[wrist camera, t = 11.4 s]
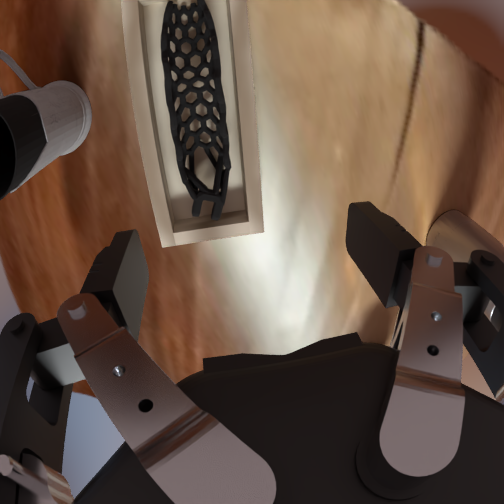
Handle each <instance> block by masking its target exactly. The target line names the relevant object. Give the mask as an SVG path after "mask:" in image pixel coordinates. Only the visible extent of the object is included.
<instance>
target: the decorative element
mask: <svg viewBox="0 0 504 504" xmlns="http://www.w3.org/2000/svg"><path fill="white" fill-rule="evenodd" d="M177 5H178V4H173V1H168V3H167V5H166V8H165V12H164V17H163V24H162V32H161V60H162V64H163V71H164V87H165V96H166V104H167V107H168V111H169V116H170V129H171V135H172V139H173V142H174V145H175V151H176V160H177V165H178V169H179V173H180V176H181V179H182V183H183V184H184V185H185V186H186V188H187V190H188V192H189V195H190V197H191V198H192V199H193V200H194V201H193V205H192V216H194V217H199V215H200V211H201V207H202V202H203V201H204V200H206V201H211V202H214V204H213V208H212V213H211V219H212V220H216V221H218V220H219V219H220V217H221V213H222V209H223V206H224V204H225V200H226V194H227V189H228V180H229V171H230V169H231V168H232V167H231V161H230V156H229V146H230V145H229V134H228V129H227V123H226V103H225V98H224V93H223V88H222V83H221V62H220V54H219V48H218V39H217V34H216V30H215V25H214V21H213V18H212V15H211V13H210V11H209V8H208V6H207V4H206V2H205V0H197V5H196V3H191V4H190V5H191V7H190V9H189V10H188V9H187V6H186V5H182V6H181V9H180V10H179V9H178V7H177ZM195 11H196V12H197V14H198V21H197V23H196V22H195V21H194V20H193V14H194V12H195ZM173 13H174V15H175V23H173V20H172V17H173ZM183 14H185V15H186V16H187V20H188V23H187V24H186V25H184V24H183V23H182V22H181V16H182V15H183ZM203 22H204V24H205V27H206V29H205V33H203V32H202V24H203ZM168 27H169V33H168ZM191 27H193V28H195V29H196V36H195V37H194V38H193V39H192V38H190V37H189V36H188V30H189V29H190V28H191ZM177 28H179V29H180V30H181V31H182V38H181V39H180V40H178V38H177V37H176V36H175V32H176V29H177ZM210 38H211V41H210ZM200 39H204V43H205V46H204V48H203V49H202V51H201V50H198V48H197V43H198V41H199V40H200ZM170 41H172V42H173V43H174V44H175V52H174V53H173V52H172V50H171V48H170ZM185 42H187V43H189V44H190V45H191V51H190V52H189V53H188V54H185V53H184V52H182V50H181V45H182V44H183V43H185ZM209 50H210V51H211V59H210V62H207V57H206V55H207V53H208V51H209ZM194 55H197V56H200V59H201V63H200V64H199V65H198V66H197V67H194V66H192V65H191V61H190V59H191V58H192V57H193V56H194ZM168 57H169V61H168ZM177 57H180V58H182V59H184V67H182V68H181V69H180V68H179V67H178V66H177V65H176V61H175V58H177ZM204 68H208V71H209V74H208V75H207V76H206V77H204V76H201V75H200V73H201V71H202V70H203V69H204ZM171 71H173V72H174V73H175V74H176V75H177V79H176V80H175V81H174V80H173V79H172V72H171ZM187 71H190V72H192V73H194V76H193V77H192V78H190V79H187V78H184V75H183V74H184V73H186V72H187ZM212 79H213V80H214V86H215V89H214V88H213V87H212V86H211V85H210V80H212ZM197 81H200V82H203V83H204V85H203V86H201V87H195V86H193V83H195V82H197ZM181 83H182V84H185V85H186V88H185V89H184V90H183V91H182V92H179V91H178V86H179V85H180V84H181ZM205 91H208V92H209V93H210V94H212V97H213V101H212V102H209V101H207V100H206V99H205V98H203V92H205ZM190 92H194V93H196V94H197V99H196V100H194V101H193V102H192V103H190V102H187V101H186V95H188V94H189V93H190ZM177 97H178V98H179V99H180V104H179V106H178V108H177V110H176V111H175V102H176V99H177ZM200 103H201V104H202V105H204V106H205V107H206V108H207V114H206V115H204V116H201V115H199V114H197V113H196V107H197V106H198V105H199V104H200ZM185 107H186V108H188V109H190V116H189V117H188V118H187V119H186V121H182V117H181V115H182V113H183V110H184V108H185ZM213 107H215V108H216V110H217V111H218V113H219V118H220V120H219V119H218V118H217V117H216V116H215V115H214V112H213ZM194 119H196V120H198V121H200V125H201V127H200V128H199V129H198V130H196V131H192V130H190V124H191V123H192V122H193V120H194ZM209 119H211V120H212V122H213V123H214V124H215V125H216V131H213V130H211V129H210V128H209V127H207V122H206V121H207V120H209ZM182 127H184V131H185V133H184V135H183V137H182V140H181V141H180V132H181V128H182ZM203 132H205V133H207V134H208V135H209V136H210V138H211V141H210V142H208V143H204V142H202V141H200V135H201V134H202V133H203ZM189 136H192V137H194V143H193V145H192V146H191V148H190V149H187V148H186V143H187V141H188V139H189ZM217 136H218V137H219V139H220V141H221V143H222V147H221V146H220V145H219V144H218V142H217V138H216V137H217ZM198 146H200V147H202V148H204V151H205V153H206V155H207V156H208V158H209V159H210V161H211V163H212V164H213V166H214V168H215V169H216V172H215V178H214V185H213V190H212V189H208V187H207V186H206V185H205V184H204V183H203V182H202V181H201V180H200V179H198V178H197V176H196V174H194V151H195V150H196V149H197V147H198ZM211 147H214V148H215V149H216V151H217V152H218V159H217V161H216V159H215V158H214V156H213V154H212V153H211V151H210V148H211ZM222 148H223V149H222ZM187 155H189V169H188V168H186V166H185V163H186V157H187ZM224 167H225V170H224ZM187 178H188V179H187ZM198 189H199V190H198ZM219 189H221V190H220V192H219Z"/></svg>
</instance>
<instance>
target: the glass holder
mask: <svg viewBox="0 0 504 504" xmlns="http://www.w3.org/2000/svg"><path fill="white" fill-rule="evenodd" d="M0 59H2V60H3V61H4V62H5V63H6V64H8V65H9V67H10V68H11V69H12V70H13V71H14V72H15V73H16V74H17V75H18V77H19V78H20V79H21V80H22V81H23V83H24V84H25V85H26V86H27V87H28V88H29V89H30V90H27V91H23V92H18V93H14V94H10V95H7V96H3V93H2V90H1V88H0V200H1V199H2V198H4V197H5V196H6V195H7V194H8V193H9V192H10V193H12V192H14V191H15V190H16V189H18V188H19V187H20V186H21V185H22V184H24V183H25V182H26V181H27V180H28V179H30V178H31V177H32V176H33V175H35V174H36V173H37V172H39V171H40V170H41V169H42V168H44V167H45V166H46V165H48V164H49V163H50V162H52V161H53V160H54V159H56V158H57V157H59V156H61V155H65V154H68V153H70V152H72V151H74V150H75V149H76V148H77V147H79V146H80V145H81V143H82V142H83V141H84V140H85V138H86V136H87V134H88V132H89V129H90V125H91V120H92V111H91V105H90V101H89V99H88V97H87V95H86V94H85V92H84V91H83V90H82V89H81V88H80V87H79V86H77V85H76V84H74V83H72V82H69V81H55V82H52V83H49V84H47V85H45V86H44V87H42V88H41V87H37V86H36V85H35V84H34V83H33V82H32V81H31V80H30V79H29V78H28V76H27V75H26V74H25V73H24V71H23V70H22V69H21V68H20V67H19V66H18V64H17V63H16V62H15V61H14V60H13V59H12V58H11V57H10V56H9V55H8V54H7V53H5V52H4V51H2V50H0Z"/></svg>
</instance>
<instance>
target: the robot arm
mask: <svg viewBox="0 0 504 504" xmlns="http://www.w3.org/2000/svg"><path fill="white" fill-rule="evenodd" d="M346 248H347V251H348V253H349V255H350V256H351V258H352V259H353V261H354V262H355V264H356V265H357V266H358V268H359V269H360V271H361V272H362V274H363V275H364V277H365V278H366V279H367V281H368V282H369V284H370V285H371V287H372V288H373V290H374V291H375V293H376V294H377V296H378V297H379V299H380V300H381V302H382V303H383V305H384V306H385V308H388V307H393V306H397V305H398V306H399V307H400V308H399V311H398V314H397V318H396V323H395V327H394V331H393V335H392V339H391V343H390V347H388V346H385V345H381V344H375V343H362V341H361V339H360V337H359V335H358V334H357V332H355V333H351V334H346V335H342V336H337V337H333V338H328V339H323V340H320V341H318V342H316V343H313V344H311V345H309V346H306V347H304V348H302V349H299V350H297V351H294V352H292V353H290V354H287V355H263V354H243V353H242V354H235V355H227V356H219V357H211V358H203V370H202V371H199V372H197V373H195V374H192V375H190V376H188V377H186V378H185V379H183V380H181V381H180V382H178V383H177V384H175V383H174V382H173V381H172V380H171V379H170V378H169V377H168V376H167V375H166V374H165V373H164V372H163V371H162V370H161V368H160V367H159V366H158V365H157V364H156V363H155V362H154V361H153V360H152V359H151V357H150V356H149V355H148V354H147V353H146V352H145V351H144V350H143V348H142V347H141V346H140V345H139V344H138V336H139V330H140V324H141V318H142V313H143V307H144V302H145V296H146V291H147V286H148V281H149V273H148V267H147V263H146V259H145V256H144V252H143V249H142V245H141V242H140V238H139V235H138V232H137V230H136V229H134V230H127V231H121V232H116V234H115V236H114V238H113V240H112V242H111V245H110V246H109V247H105V248H104V249H103V250H102V251H101V252H100V253H99V254H98V255H97V256H96V258H95V260H94V262H93V266H92V267H91V269H90V271H89V272H90V273H88V275H87V278H86V280H85V282H84V284H83V287H82V289H81V291H80V294H77V295H74V296H72V297H70V298H68V299H67V300H66V301H64V302H63V303H62V305H61V306H60V307H59V309H58V311H57V317H56V318H54V319H51V320H48V321H45V322H42V323H39V324H38V322H37V321H36V319H35V317H34V316H33V315H32V314H30V313H21V314H19V315H16V316H15V317H13V318H12V319H10V320H9V321H8V322H7V323H6V325H5V326H4V328H3V329H2V332H1V334H0V504H504V247H503V245H502V243H500V242H499V241H498V240H497V239H496V238H494V237H493V236H492V235H491V234H490V233H488V232H487V231H486V230H485V229H483V228H482V227H481V226H480V225H478V224H477V223H476V222H475V221H473V220H472V219H471V218H469V217H468V216H465V215H464V214H462V213H461V212H459V211H457V210H450V211H448V212H446V213H444V214H442V215H441V216H440V217H439V218H438V219H437V220H436V221H435V223H434V224H433V226H432V227H431V229H430V231H429V233H428V237H427V241H426V246H422V245H421V244H420V243H419V242H418V241H417V240H416V239H415V238H414V237H413V236H412V235H411V234H410V233H409V232H408V231H406V229H405V228H403V227H402V226H400V224H399V223H398V222H397V221H396V220H395V219H394V218H393V217H391V216H389V215H387V214H385V213H383V212H381V211H380V210H378V209H377V208H376V207H375V206H374V205H373V204H372V203H371V202H369V201H367V202H356V203H351V204H350V205H349V208H348V219H347V230H346ZM463 344H464V346H465V347H466V349H467V350H468V352H469V354H470V355H471V357H472V358H473V360H474V362H475V363H476V365H477V367H478V368H479V370H480V372H481V373H482V375H483V377H484V379H485V381H486V382H487V384H488V386H489V387H490V389H491V391H492V393H493V395H494V397H495V399H496V400H494V399H492V398H490V397H488V396H486V395H484V394H481V393H480V392H478V391H476V390H474V389H472V388H470V387H468V386H466V385H464V384H462V383H461V372H462V353H463ZM29 377H31V378H32V379H33V380H34V384H33V388H32V391H31V395H30V399H29V402H28V400H27V396H26V389H27V385H28V381H29ZM83 379H86V380H87V382H88V384H89V385H90V387H91V389H92V390H93V392H94V394H95V395H96V397H97V399H98V400H99V402H100V403H101V405H102V407H103V408H104V410H105V411H106V413H107V414H108V416H109V418H110V419H111V421H112V422H113V424H114V425H115V426H116V428H117V429H118V431H119V432H120V433H121V435H122V437H123V438H124V439H125V442H124V443H123V444H122V445H121V446H120V448H119V449H118V450H117V451H116V452H115V453H114V455H113V456H112V457H111V458H110V459H109V460H108V461H107V463H106V464H105V465H104V466H103V467H102V468H101V469H100V471H99V472H98V473H97V474H96V475H95V476H94V477H93V478H92V480H91V481H90V482H89V483H88V484H87V485H86V486H85V487H84V489H83V490H82V491H81V492H80V493H79V494H78V495H77V496H76V498H75V499H74V498H73V496H72V495H71V490H70V486H69V484H68V482H67V480H66V479H65V478H64V476H63V475H62V463H63V451H64V441H65V433H66V426H67V418H68V411H69V404H70V399H71V393H72V388H73V383H74V382H77V381H80V380H83Z"/></svg>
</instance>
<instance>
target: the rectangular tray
mask: <svg viewBox="0 0 504 504" xmlns="http://www.w3.org/2000/svg"><path fill="white" fill-rule="evenodd" d="M168 1H173V4H178V5H177V7H178V9H179V10H180V9H181V6H182V5H186V6H187V9H188V10H189V9H190V7H191V5H190V4H191V3H196V5H197V0H121V7H122V20H123V32H124V42H125V51H126V60H127V68H128V76H129V83H130V90H131V97H132V104H133V110H134V116H135V122H136V128H137V134H138V139H139V145H140V150H141V155H142V160H143V165H144V170H145V175H146V180H147V185H148V189H149V194H150V198H151V203H152V207H153V211H154V216H155V220H156V224H157V228H158V232H159V236H160V240H161V244H162V248H163V247H169V246H176V245H182V244H189V243H195V242H202V241H208V240H215V239H222V238H228V237H235V236H242V235H249V234H256V233H263V232H264V224H263V208H262V193H261V178H260V163H259V149H258V135H257V122H256V108H255V95H254V82H253V70H252V57H251V45H250V33H249V22H248V10H247V0H205V2H206V4H207V6H208V8H209V11H210V13H211V15H212V18H213V21H214V25H215V30H216V34H217V39H218V48H219V54H220V62H221V83H222V88H223V93H224V98H225V103H226V123H227V129H228V134H229V145H230V146H229V156H230V161H231V167H232V168H231V169H230V171H229V180H228V189H227V194H226V200H225V204H224V206H223V209H222V213H221V217H220V219H219V220H218V221H216V220H212V219H211V213H212V208H213V204H214V202H211V201H206V200H204V201H203V202H202V207H201V211H200V215H199V217H194V216H192V205H193V201H194V200H193V199H192V198H191V197H190V195H189V192H188V190H187V188H186V186H185V185H184V184H183V183H182V179H181V176H180V173H179V169H178V165H177V160H176V151H175V145H174V142H173V139H172V135H171V129H170V116H169V111H168V107H167V104H166V96H165V87H164V71H163V64H162V60H161V32H162V24H163V17H164V12H165V8H166V5H167V3H168ZM172 20H173V23H175V15H174V13H173V17H172ZM193 20H194V21H195V22H196V23H197V21H198V14H197V12H196V11H195V12H194V14H193ZM181 22H182V23H183V24H184V25H186V24H187V23H188V20H187V16H186V15H185V14H183V15H182V16H181ZM205 29H206V27H205V24H204V22H203V24H202V32H203V33H205ZM168 33H169V27H168ZM175 36H176V37H177V38H178V40H180V39H181V38H182V31H181V30H180V29H179V28H177V29H176V32H175ZM188 36H189V37H190V38H192V39H193V38H194V37H195V36H196V29H195V28H193V27H191V28H190V29H189V30H188ZM210 41H211V38H210ZM204 46H205V43H204V39H200V40H199V41H198V43H197V48H198V50H201V51H202V49H203V48H204ZM170 48H171V50H172V52H173V53H174V52H175V44H174V43H173V42H172V41H170ZM181 50H182V52H184V53H185V54H188V53H189V52H190V51H191V45H190V44H189V43H187V42H185V43H183V44H182V45H181ZM206 57H207V62H210V59H211V51H210V50H209V51H208V53H207V55H206ZM168 61H169V57H168ZM175 61H176V65H177V66H178V67H179V68H180V69H181V68H182V67H184V59H182V58H180V57H177V58H175ZM190 61H191V65H192V66H194V67H197V66H198V65H199V64H200V63H201V59H200V56H197V55H194V56H193V57H192V58H191V59H190ZM171 72H172V79H173V80H174V81H175V80H176V79H177V75H176V74H175V73H174V72H173V71H171ZM208 74H209V71H208V68H204V69H203V70H202V71H201V73H200V75H201V76H204V77H206V76H207V75H208ZM183 75H184V78H187V79H190V78H192V77H193V76H194V73H192V72H190V71H187V72H186V73H184V74H183ZM203 85H204V83H203V82H200V81H197V82H195V83H193V86H195V87H201V86H203ZM210 85H211V86H212V87H213V88H214V89H215V86H214V80H213V79H212V80H210ZM185 88H186V85H185V84H182V83H181V84H180V85H179V86H178V91H179V92H182V91H183V90H184V89H185ZM203 98H205V99H206V100H207V101H209V102H212V101H213V97H212V94H210V93H209V92H208V91H205V92H203ZM196 99H197V94H196V93H194V92H190V93H189V94H188V95H186V101H187V102H190V103H192V102H193V101H194V100H196ZM179 104H180V99H179V98H178V97H177V99H176V102H175V111H176V110H177V108H178V106H179ZM213 112H214V115H215V116H216V117H217V118H218V119H219V120H220V118H219V113H218V111H217V110H216V108H215V107H213ZM196 113H197V114H199V115H201V116H204V115H206V114H207V108H206V107H205V106H204V105H202V104H201V103H200V104H199V105H198V106H197V107H196ZM189 116H190V109H188V108H186V107H185V108H184V110H183V113H182V115H181V117H182V121H186V119H187V118H188V117H189ZM206 122H207V127H209V128H210V129H211V130H213V131H216V125H215V124H214V123H213V122H212V120H211V119H209V120H207V121H206ZM200 127H201V125H200V121H198V120H196V119H194V120H193V122H192V123H191V124H190V130H192V131H196V130H198V129H199V128H200ZM184 133H185V131H184V127H182V128H181V132H180V141H181V140H182V137H183V135H184ZM216 138H217V142H218V144H219V145H220V146H221V147H222V143H221V141H220V139H219V137H218V136H217V137H216ZM200 141H202V142H204V143H208V142H210V141H211V138H210V136H209V135H208V134H207V133H205V132H203V133H202V134H201V135H200ZM193 143H194V137H192V136H189V139H188V141H187V143H186V148H187V149H190V148H191V146H192V145H193ZM222 149H223V148H222ZM210 151H211V153H212V154H213V156H214V158H215V159H216V161H217V159H218V152H217V151H216V149H215V148H214V147H211V148H210ZM185 166H186V168H188V169H189V155H187V157H186V163H185ZM224 170H225V167H224ZM215 172H216V169H215V168H214V166H213V164H212V163H211V161H210V159H209V158H208V156H207V155H206V153H205V151H204V148H202V147H200V146H198V147H197V149H196V150H195V151H194V174H196V176H197V178H198V179H200V180H201V181H202V182H203V183H204V184H205V185H206V186H207V187H208V189H212V190H213V185H214V178H215ZM187 179H188V178H187ZM198 190H199V189H198ZM220 190H221V189H219V192H220Z"/></svg>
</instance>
